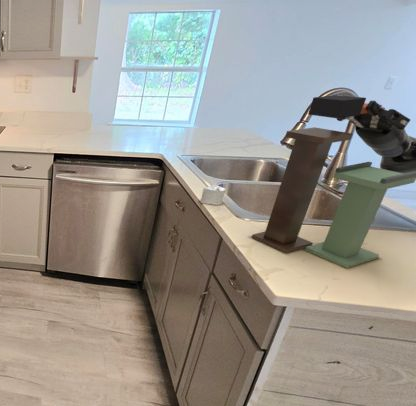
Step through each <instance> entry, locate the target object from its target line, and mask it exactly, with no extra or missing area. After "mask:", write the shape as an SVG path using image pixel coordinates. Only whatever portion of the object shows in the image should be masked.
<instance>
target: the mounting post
mask: <svg viewBox="0 0 416 406" xmlns="http://www.w3.org/2000/svg"><path fill="white" fill-rule="evenodd" d="M372 164H373V162H372V161H365V162H360V163H354V164H349V165H344V166H340V167H336V168H335V171H334V173H333V176H332V178H333V179H336V180H340V181H343V182H347V184H346V187H345V189H344V191H343V194H342V197H341V199H340V202H339V204H338V206H337V209H336V211H335V214H334V216H333V219H332V221H331V224H330V226H329V229H328V231H327V233H326V236H325V238H324V241H323V242H319V243H315V244H312V245H311V246H308V247H306V248H304V251H306V252H308V253H311V254H313V255H315V256H317V257H320V258H322V259H325V260H327V261H329V262H332V263H334V264H335V265H339V266H341V267H343V268H345V269H348V268H352V267H354V266H358V265H360V264H364V263H367V262H370V261H373V260H376V259H377V260H378V258H379V256H380V254H378V253H376V252H373V251H371V250H367V249H365V248H362V247H363V244H364V242H365V239H366V237H367V235H368V233H369V231H370V228H371V226H372V224H373V222H374V220H375V217H376V215H377V214H378V213H377V212H378V211H379V208H380V207H381V204H382V202H383V200H384V197H385V196H386V194H387V191H388V190H389V189H393V188H397V187H402V186H406V185H410V184H415V182H416V172H415V171H414V172H409V173H405V174H403V173H398V172H394V171H389V170H385V169H381V168H380V167H375V166H372Z"/></svg>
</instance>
